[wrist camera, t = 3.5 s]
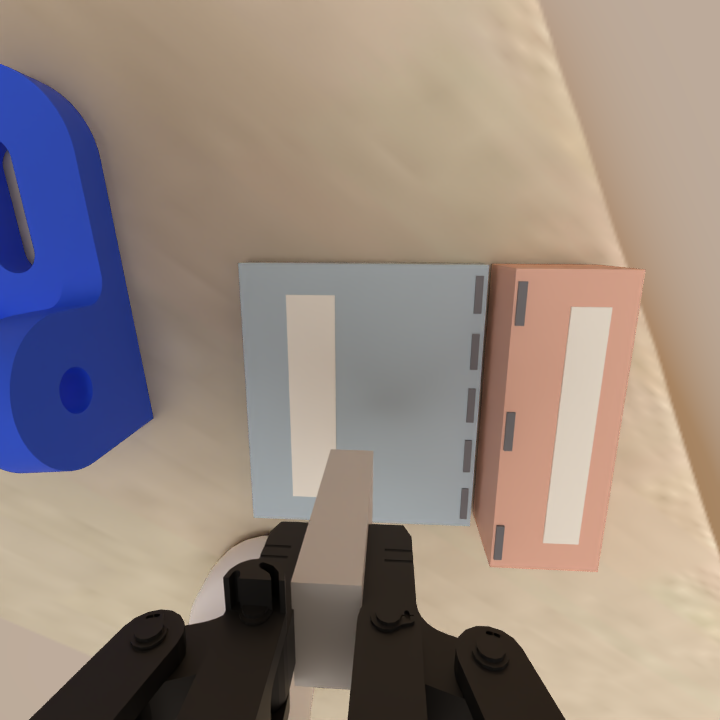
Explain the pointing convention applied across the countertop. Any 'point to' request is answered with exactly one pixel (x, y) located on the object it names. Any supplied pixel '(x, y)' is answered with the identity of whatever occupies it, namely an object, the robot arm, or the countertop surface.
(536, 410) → the stub
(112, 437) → the bracket
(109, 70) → the countertop surface
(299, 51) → the countertop surface
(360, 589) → the robot arm
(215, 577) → the bottle
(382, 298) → the ticket
